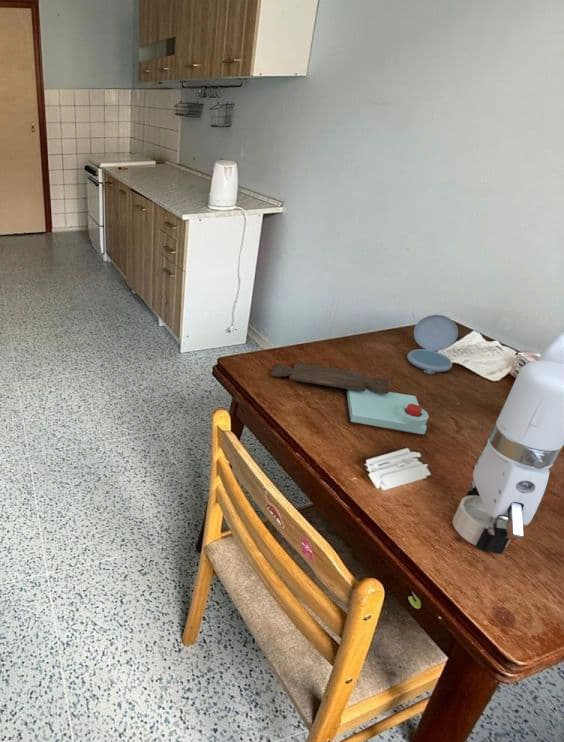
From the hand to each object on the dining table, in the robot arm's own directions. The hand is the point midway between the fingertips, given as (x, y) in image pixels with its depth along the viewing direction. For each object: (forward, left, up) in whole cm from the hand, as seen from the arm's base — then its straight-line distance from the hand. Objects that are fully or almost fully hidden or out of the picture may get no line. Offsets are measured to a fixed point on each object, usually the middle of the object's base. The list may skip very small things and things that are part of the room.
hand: (480, 529), depth 76 cm
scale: (+10, -31, -1) cm, 33 cm away
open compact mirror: (-4, -58, -1) cm, 58 cm away
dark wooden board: (+21, -39, 0) cm, 45 cm away
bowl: (0, 0, -1) cm, 1 cm away
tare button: (+6, -27, +2) cm, 28 cm away
